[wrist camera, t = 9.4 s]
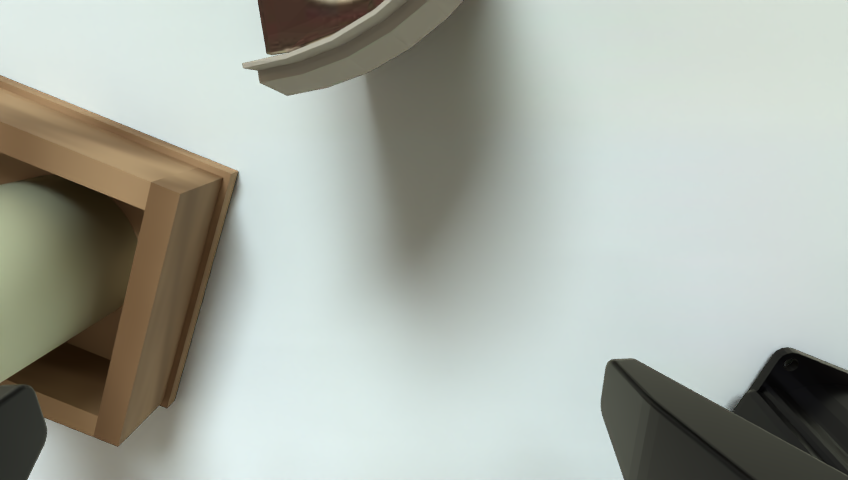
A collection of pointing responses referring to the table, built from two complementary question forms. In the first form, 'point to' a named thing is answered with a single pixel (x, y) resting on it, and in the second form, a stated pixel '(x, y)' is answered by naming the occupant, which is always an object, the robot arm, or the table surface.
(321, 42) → the food container
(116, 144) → the holder
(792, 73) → the table surface
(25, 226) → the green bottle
